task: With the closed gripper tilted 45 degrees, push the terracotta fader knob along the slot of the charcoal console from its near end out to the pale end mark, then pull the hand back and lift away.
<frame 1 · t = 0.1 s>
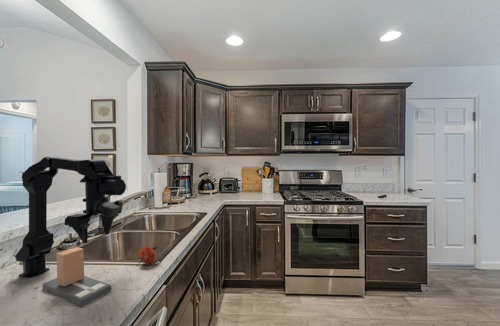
hand: (96, 238, 84), 15 cm above the table, tool pointing down, fingers open, 9 cm apart
pomegranate: (146, 264, 96), on the table
fader knob: (70, 266, 79), point 8 cm above the table, slide at 0.0 cm
console: (76, 290, 77), on the table
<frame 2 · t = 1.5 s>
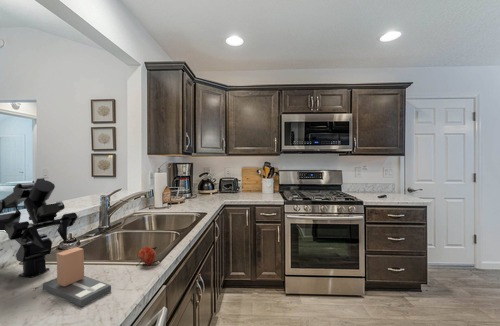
hand: (55, 243, 83), 14 cm above the table, tool tilted 45°, fingers open, 6 cm apart
nothing on the table moved.
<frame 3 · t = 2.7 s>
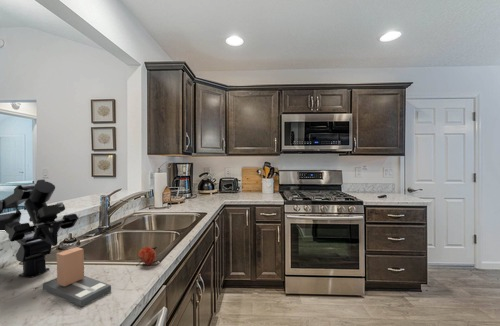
hand: (55, 245, 83), 13 cm above the table, tool tilted 45°, fingers closed
nothing on the table moved.
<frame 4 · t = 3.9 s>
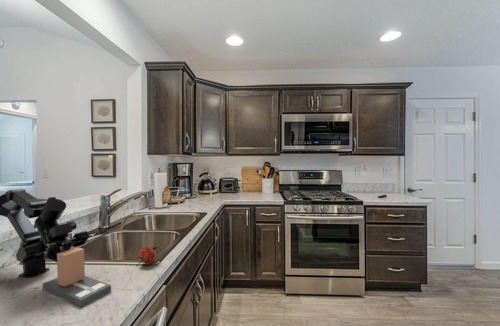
hand: (67, 265, 79), 7 cm above the table, tool tilted 45°, fingers closed, pressing on fader knob
fader knob: (71, 266, 78), point 8 cm above the table, slide at 0.3 cm, touching gripper
everything else where it was.
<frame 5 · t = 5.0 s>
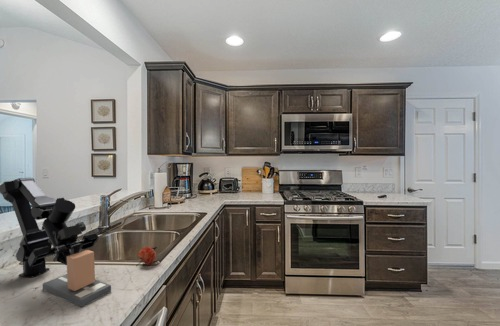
hand: (77, 269, 77), 7 cm above the table, tool tilted 45°, fingers closed, pressing on fader knob
fader knob: (81, 269, 76), point 8 cm above the table, slide at 6.0 cm, touching gripper
everything else where it was.
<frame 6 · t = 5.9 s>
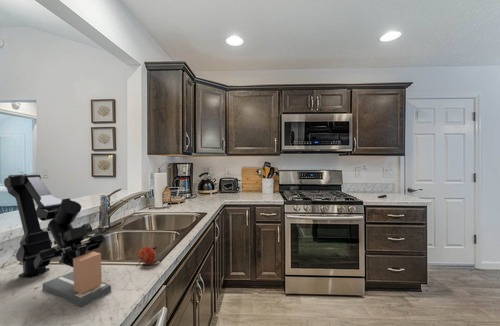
hand: (83, 271, 75), 7 cm above the table, tool tilted 45°, fingers closed, pressing on fader knob
fader knob: (87, 271, 74), point 8 cm above the table, slide at 9.6 cm, touching gripper
everything else where it was.
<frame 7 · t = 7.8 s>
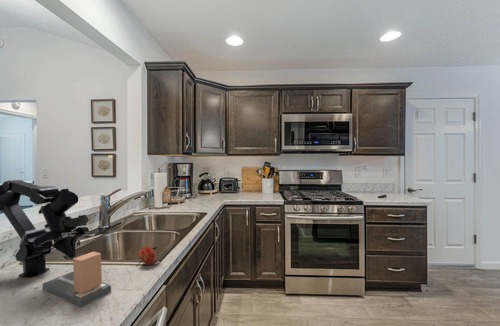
hand: (73, 257, 83), 8 cm above the table, tool tilted 30°, fingers closed
fader knob: (87, 271, 74), point 7 cm above the table, slide at 9.6 cm
everything else where it was.
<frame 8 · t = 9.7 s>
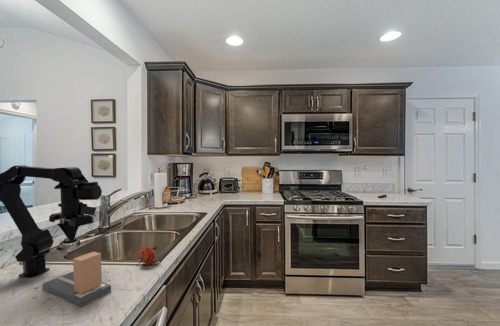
hand: (71, 241, 90), 12 cm above the table, tool pointing down, fingers closed
nothing on the table moved.
at the end: fader knob slide at 9.6 cm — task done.
